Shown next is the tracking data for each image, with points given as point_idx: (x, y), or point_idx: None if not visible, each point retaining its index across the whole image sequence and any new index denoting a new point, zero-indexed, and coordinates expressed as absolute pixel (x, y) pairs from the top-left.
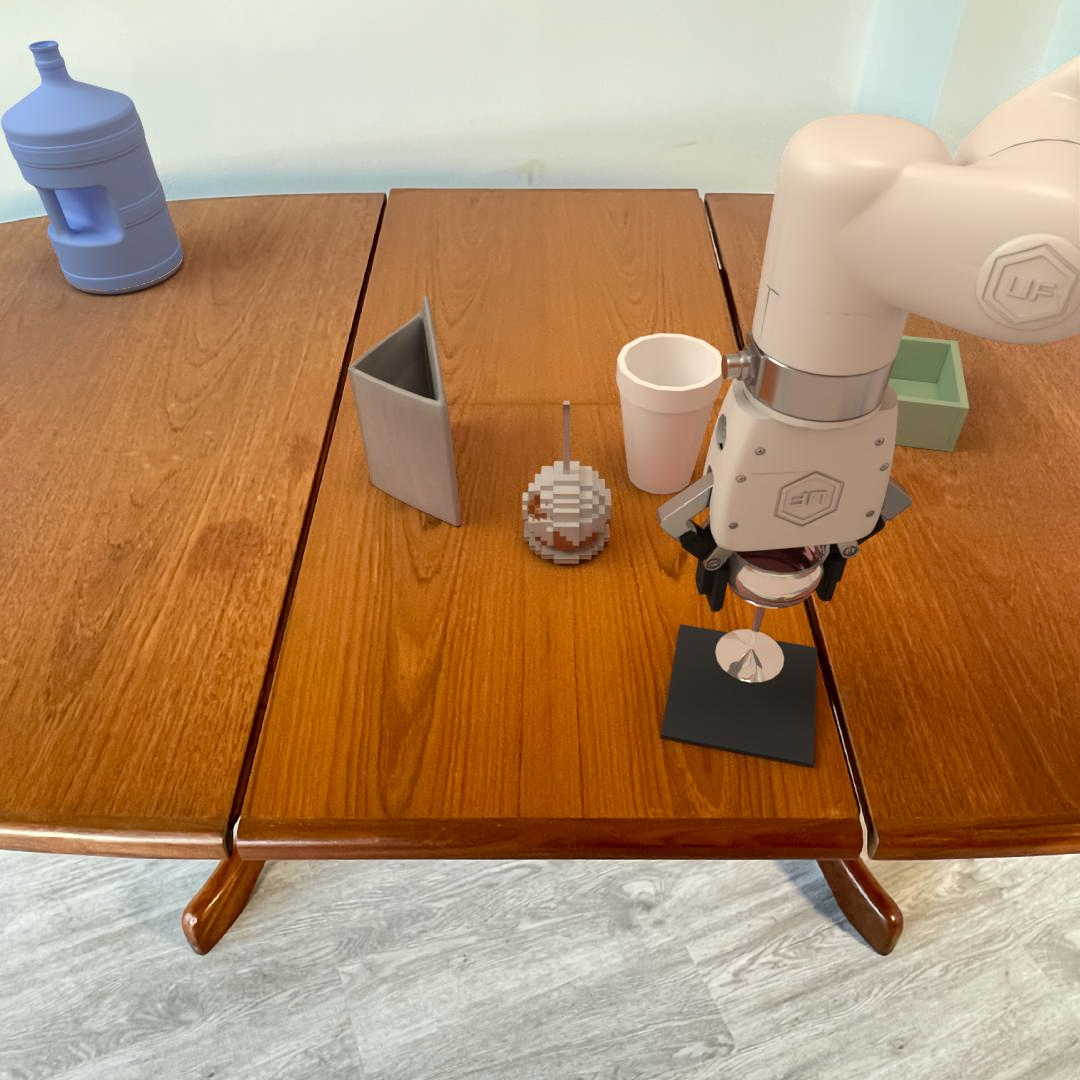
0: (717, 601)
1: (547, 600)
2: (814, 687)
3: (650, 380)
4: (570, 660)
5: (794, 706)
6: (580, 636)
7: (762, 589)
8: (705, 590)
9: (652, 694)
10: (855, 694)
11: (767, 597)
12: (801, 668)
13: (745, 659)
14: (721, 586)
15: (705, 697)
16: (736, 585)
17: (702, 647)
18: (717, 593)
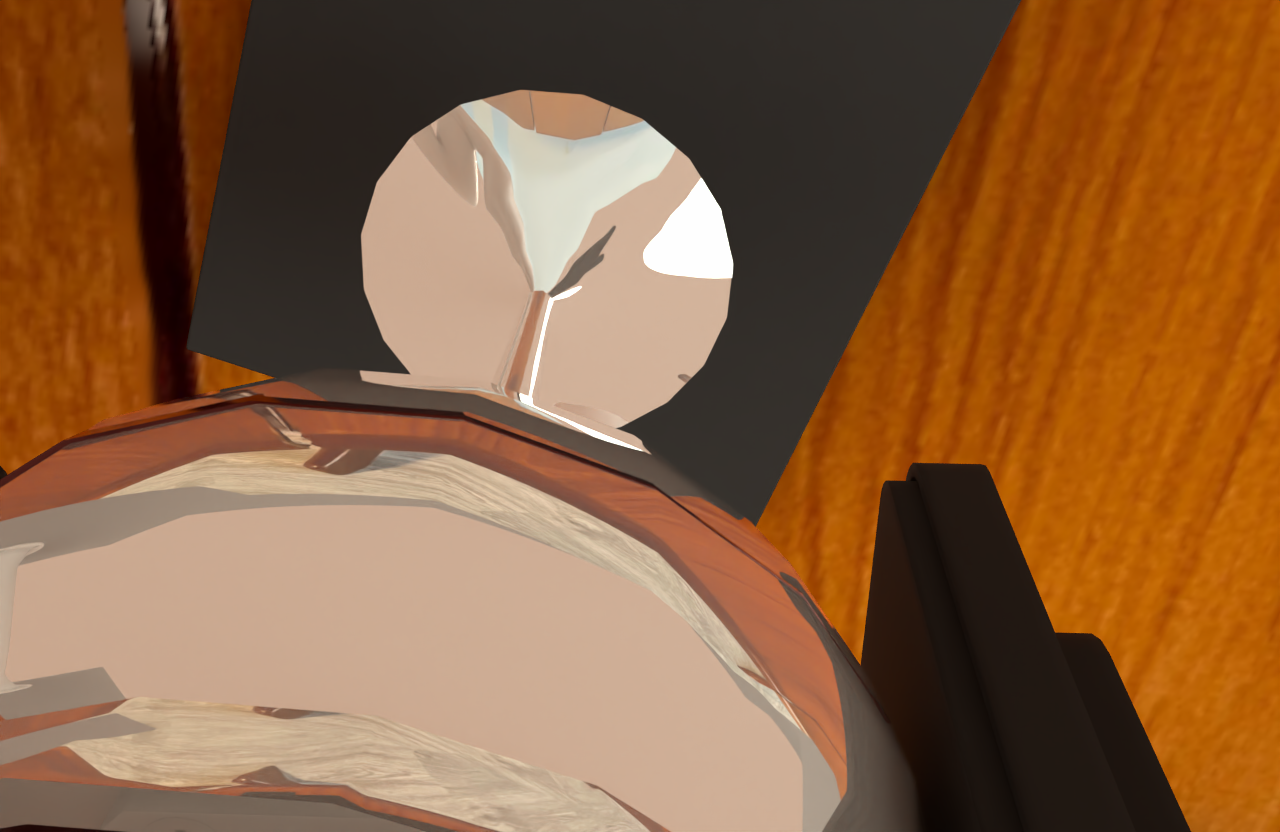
0: (990, 542)
1: (1240, 701)
2: (232, 140)
3: None
4: (1269, 427)
5: (346, 46)
6: (1178, 532)
7: (616, 589)
8: (1074, 669)
9: (979, 212)
10: (49, 91)
11: (547, 479)
12: (274, 251)
13: (586, 237)
14: (1032, 696)
15: (755, 152)
16: (855, 686)
17: (691, 412)
18: (1030, 621)
